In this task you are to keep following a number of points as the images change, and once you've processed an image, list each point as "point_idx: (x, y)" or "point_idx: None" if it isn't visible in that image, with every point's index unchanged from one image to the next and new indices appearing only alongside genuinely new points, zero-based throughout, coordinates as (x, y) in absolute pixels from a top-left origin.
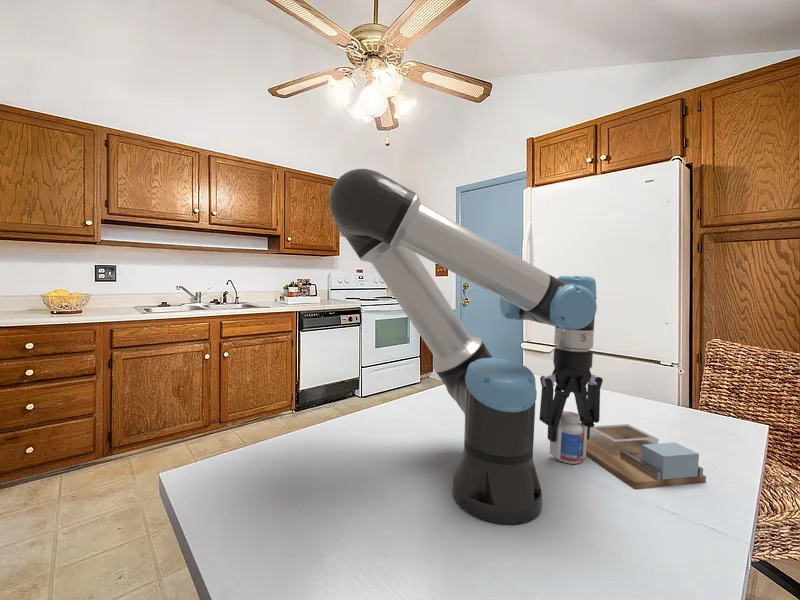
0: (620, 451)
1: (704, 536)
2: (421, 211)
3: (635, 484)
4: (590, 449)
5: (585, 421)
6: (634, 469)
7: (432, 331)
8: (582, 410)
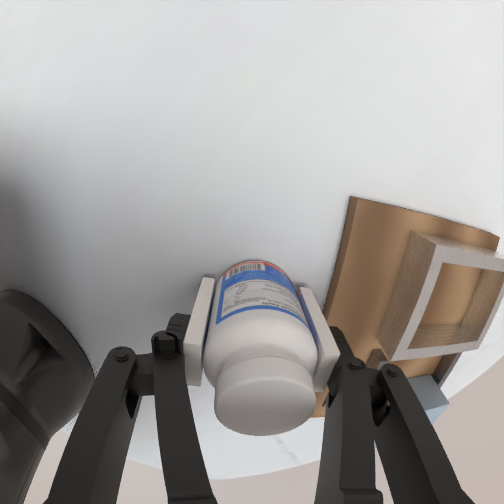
0: (379, 360)
1: (267, 460)
2: None
3: None
4: (351, 297)
5: (327, 400)
6: None
7: None
8: (326, 438)
